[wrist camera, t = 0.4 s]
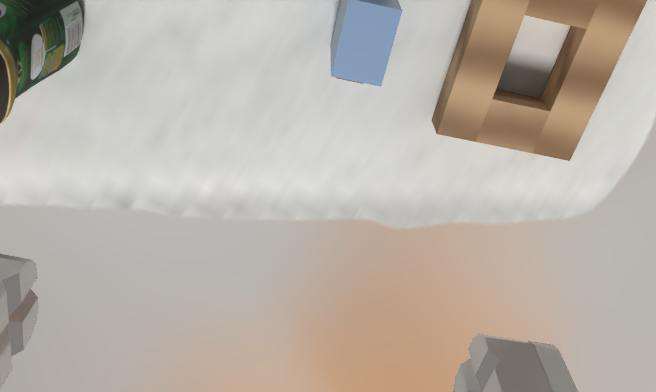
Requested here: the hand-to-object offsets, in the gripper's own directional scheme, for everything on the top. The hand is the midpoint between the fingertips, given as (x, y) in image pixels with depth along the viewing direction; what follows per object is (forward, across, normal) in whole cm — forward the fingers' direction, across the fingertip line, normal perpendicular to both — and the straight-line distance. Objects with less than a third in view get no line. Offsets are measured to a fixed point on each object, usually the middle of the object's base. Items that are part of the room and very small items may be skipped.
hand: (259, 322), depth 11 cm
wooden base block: (+44, -21, +4) cm, 49 cm away
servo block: (+44, -5, +4) cm, 45 cm away
